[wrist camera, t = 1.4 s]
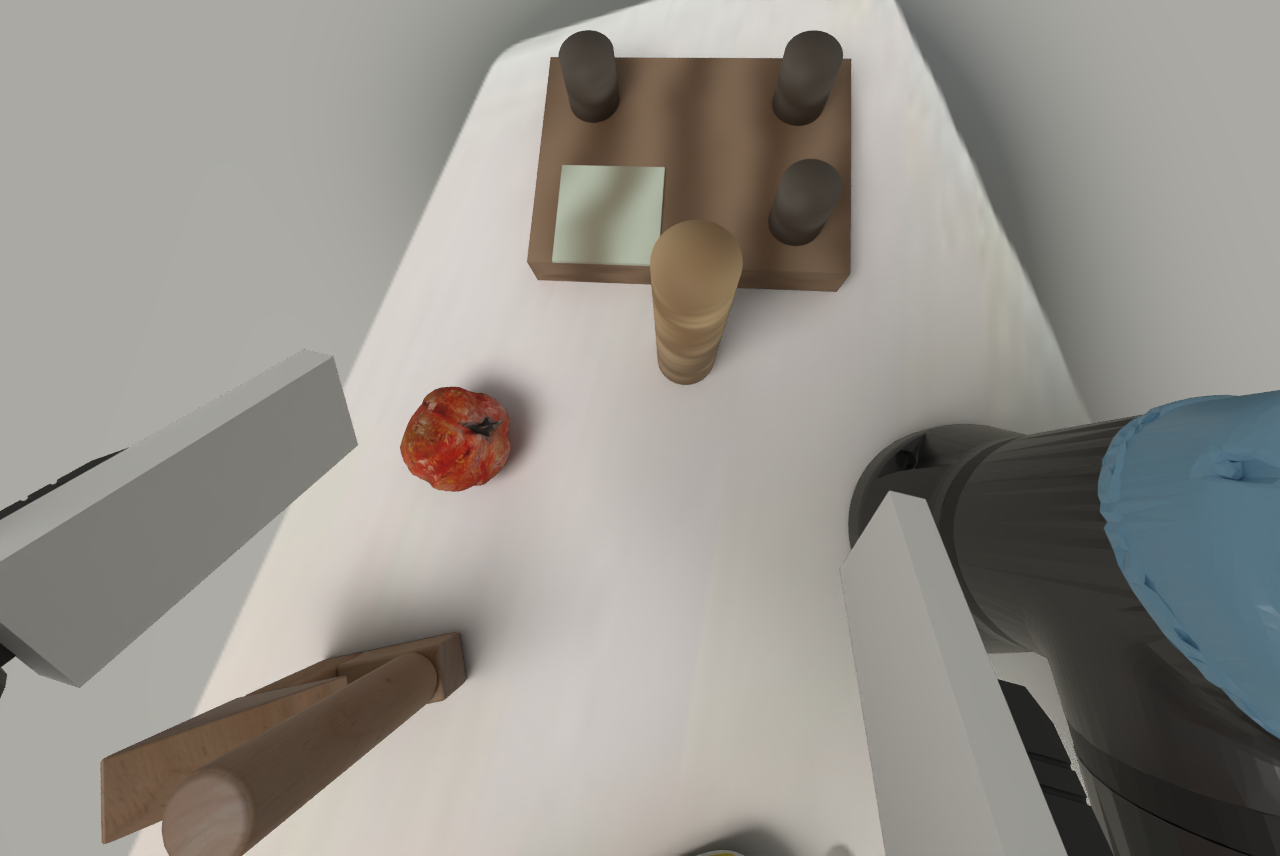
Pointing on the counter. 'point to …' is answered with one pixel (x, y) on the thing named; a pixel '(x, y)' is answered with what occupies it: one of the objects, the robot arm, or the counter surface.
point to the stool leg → (692, 296)
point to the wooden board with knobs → (695, 162)
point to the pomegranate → (456, 439)
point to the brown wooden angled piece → (270, 748)
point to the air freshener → (721, 853)
